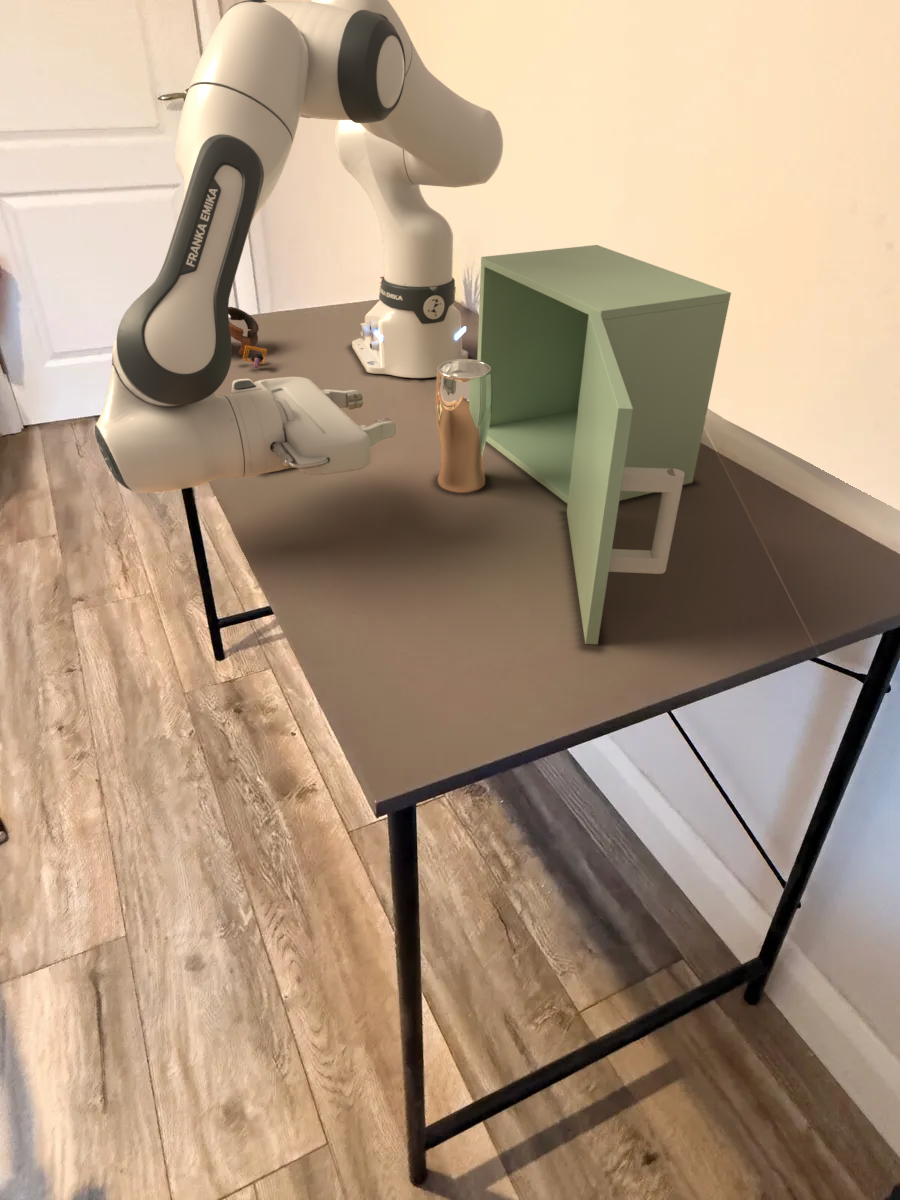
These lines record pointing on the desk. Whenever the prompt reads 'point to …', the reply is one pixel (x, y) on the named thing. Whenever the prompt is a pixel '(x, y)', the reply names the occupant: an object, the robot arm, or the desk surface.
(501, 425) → the green cabinet
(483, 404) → the beer glass
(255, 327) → the brown curved piece
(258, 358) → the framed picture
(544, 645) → the desk surface
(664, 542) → the green cabinet door
